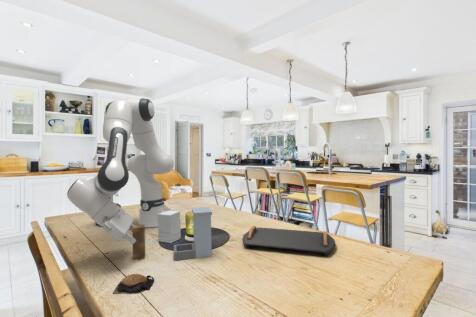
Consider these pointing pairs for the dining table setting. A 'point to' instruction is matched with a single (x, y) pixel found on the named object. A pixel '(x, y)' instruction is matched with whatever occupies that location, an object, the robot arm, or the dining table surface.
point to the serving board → (289, 239)
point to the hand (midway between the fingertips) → (136, 237)
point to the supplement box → (169, 226)
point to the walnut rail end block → (139, 242)
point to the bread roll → (134, 284)
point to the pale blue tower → (197, 237)
